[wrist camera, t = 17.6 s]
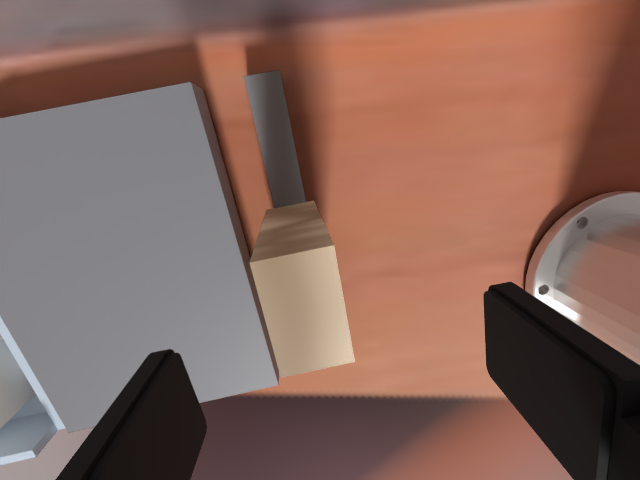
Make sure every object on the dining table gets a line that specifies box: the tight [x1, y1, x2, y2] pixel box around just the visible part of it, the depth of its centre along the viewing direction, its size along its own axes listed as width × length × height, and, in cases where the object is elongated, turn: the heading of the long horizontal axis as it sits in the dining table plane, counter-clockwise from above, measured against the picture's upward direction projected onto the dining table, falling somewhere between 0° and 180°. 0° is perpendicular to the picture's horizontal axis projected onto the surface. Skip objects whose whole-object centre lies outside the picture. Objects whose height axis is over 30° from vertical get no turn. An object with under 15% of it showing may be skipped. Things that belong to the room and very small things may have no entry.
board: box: [0, 82, 279, 433], centre depth 20 cm, size 15×20×2 cm
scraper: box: [244, 70, 355, 378], centre depth 17 cm, size 3×20×11 cm, turn 10°
